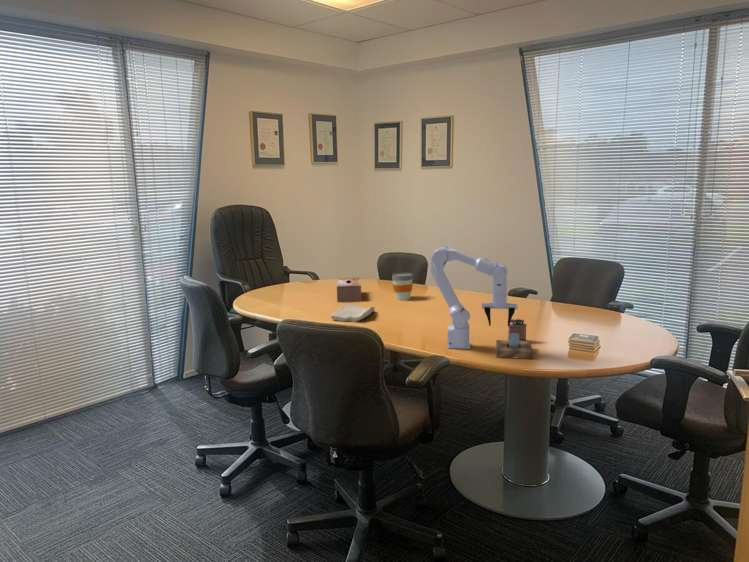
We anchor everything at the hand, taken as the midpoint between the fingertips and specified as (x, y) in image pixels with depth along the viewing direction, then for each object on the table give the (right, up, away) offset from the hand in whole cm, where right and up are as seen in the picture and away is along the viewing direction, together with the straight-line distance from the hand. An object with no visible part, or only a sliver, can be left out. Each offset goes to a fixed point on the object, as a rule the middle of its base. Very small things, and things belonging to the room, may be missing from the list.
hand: (499, 325), depth 226 cm
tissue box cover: (-68, +8, +110) cm, 130 cm away
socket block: (+5, -11, -3) cm, 13 cm away
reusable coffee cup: (-35, +8, +102) cm, 108 cm away
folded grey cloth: (-62, -1, +63) cm, 89 cm away
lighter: (+11, -8, +13) cm, 19 cm away
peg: (+5, -11, -4) cm, 13 cm away
